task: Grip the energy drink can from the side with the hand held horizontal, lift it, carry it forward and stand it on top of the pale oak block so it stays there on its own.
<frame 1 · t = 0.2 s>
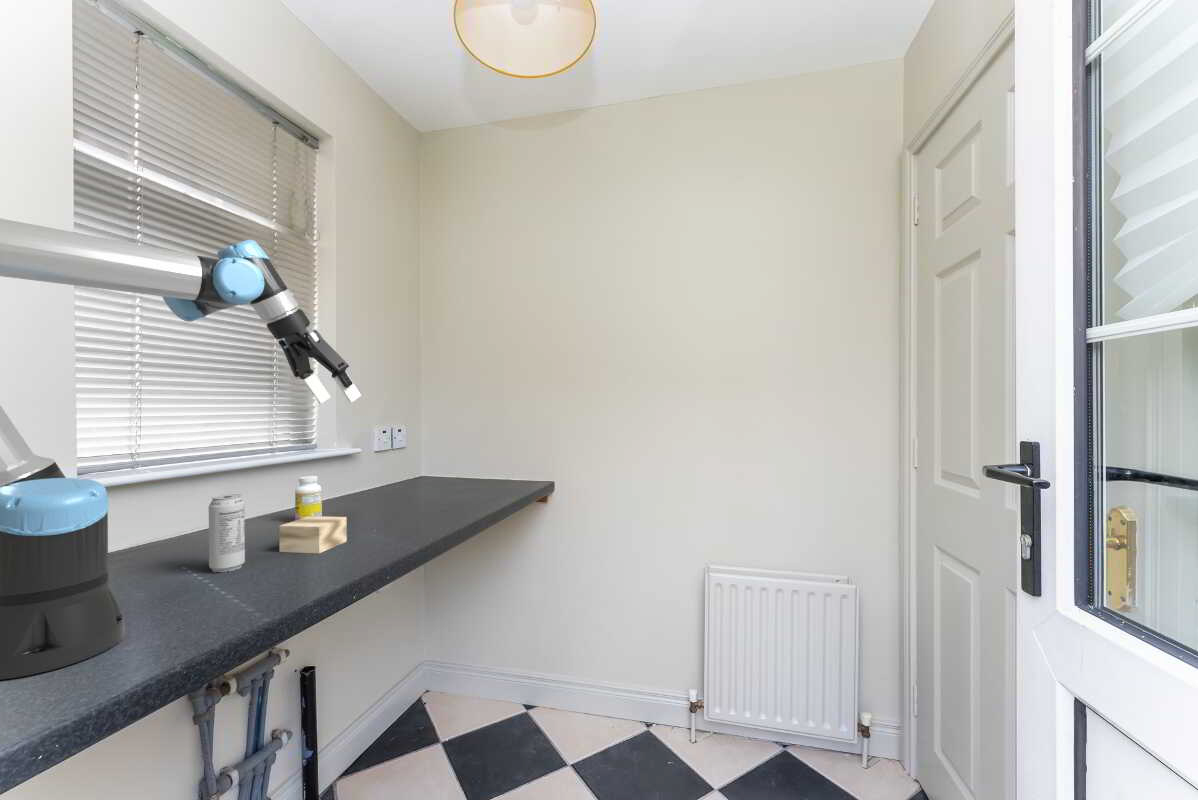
hand: (340, 399, 118), 35 cm above the worktop, tool tilted 35°, fingers open, 13 cm apart
supplement bottle: (308, 522, 149), on the worktop
oak block: (314, 546, 123), on the worktop
energy drink can: (227, 569, 108), on the worktop
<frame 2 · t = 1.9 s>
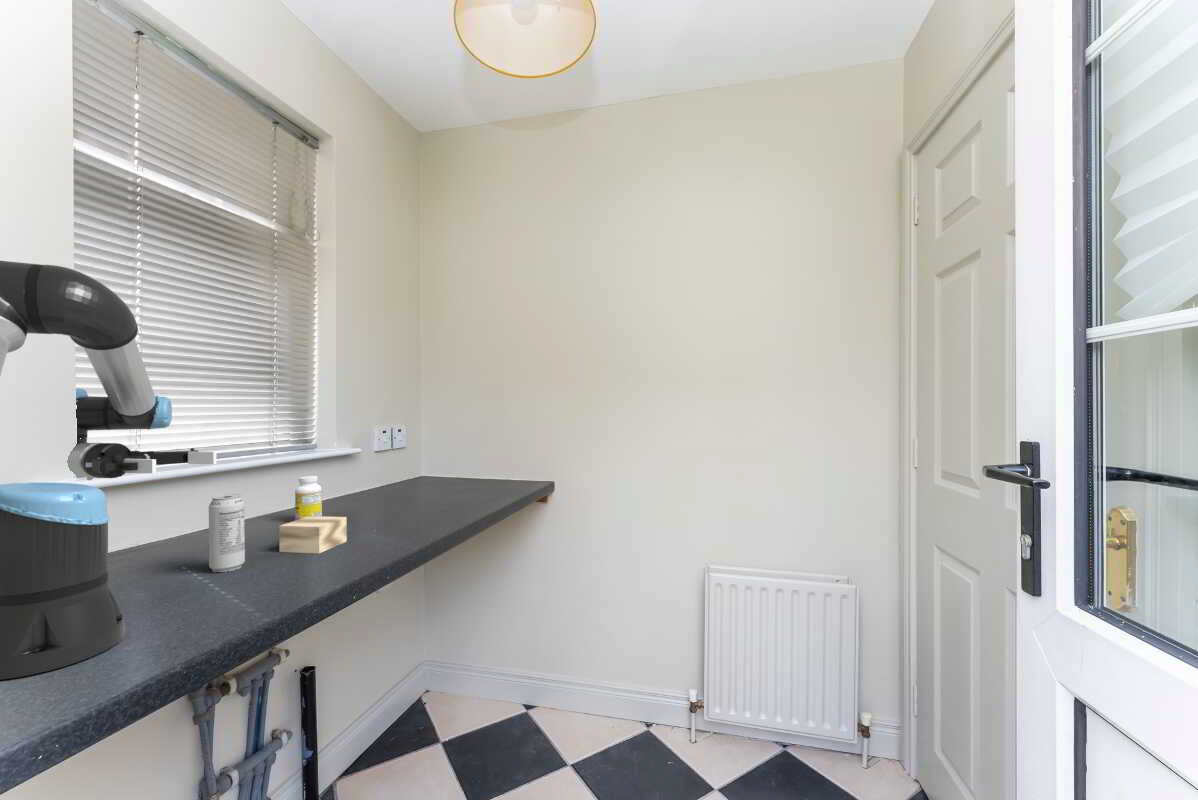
hand: (186, 461, 109), 22 cm above the worktop, tool horizontal, fingers open, 13 cm apart
nothing on the worktop moved.
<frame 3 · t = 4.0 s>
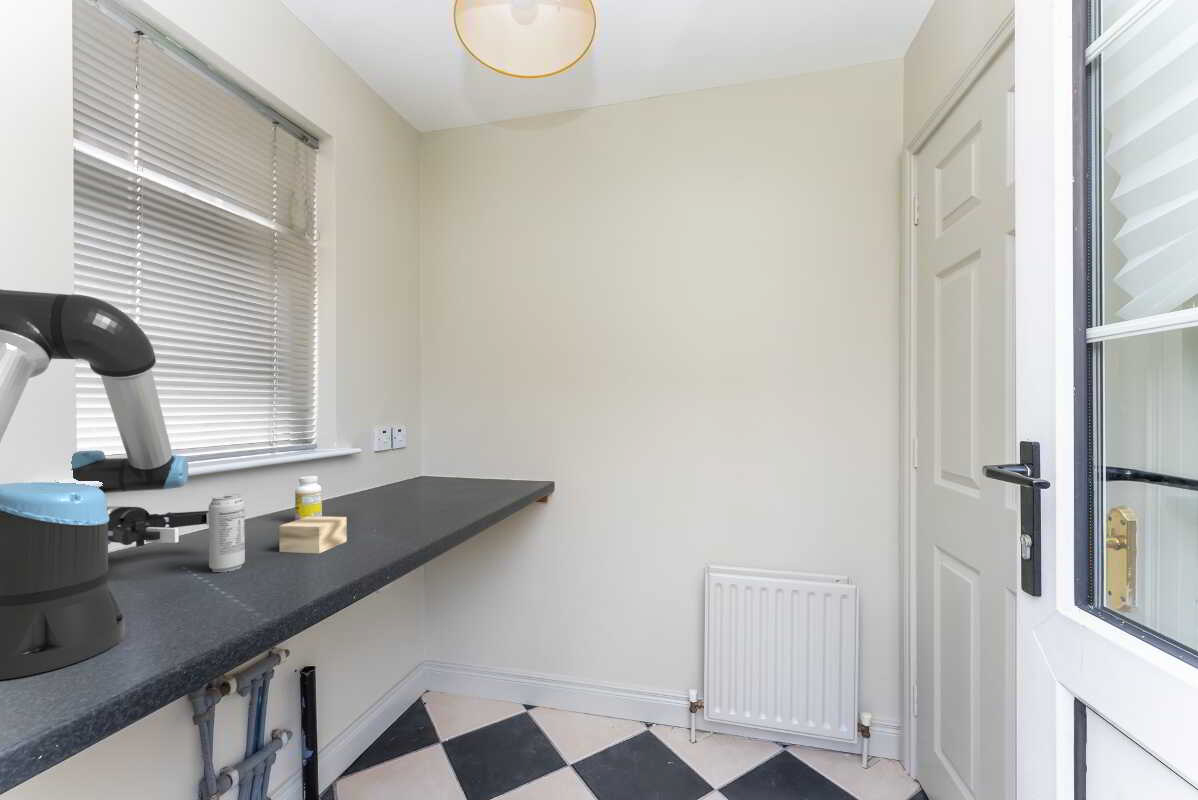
hand: (207, 526, 109), 8 cm above the worktop, tool horizontal, fingers open, 13 cm apart
nothing on the worktop moved.
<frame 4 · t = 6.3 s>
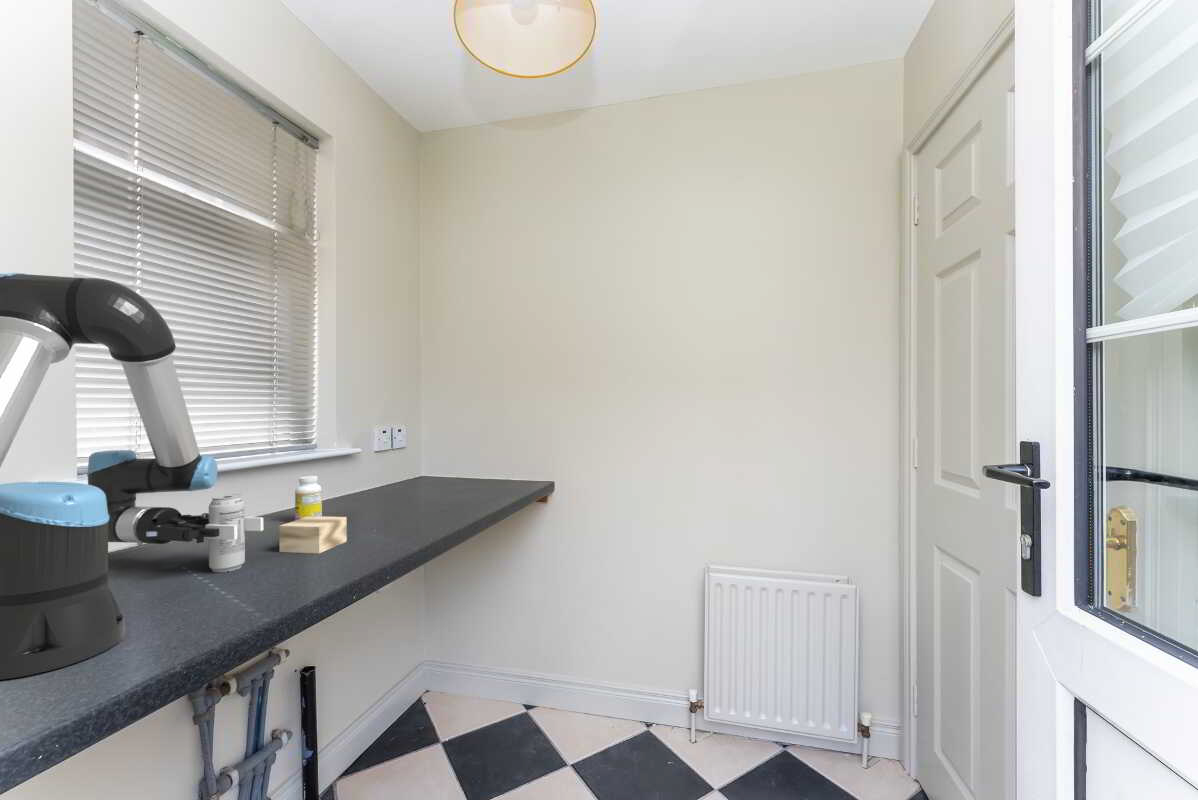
hand: (249, 528, 107), 9 cm above the worktop, tool horizontal, fingers closed on energy drink can, 6 cm apart
energy drink can: (227, 569, 108), on the worktop, touching gripper
everything else where it was.
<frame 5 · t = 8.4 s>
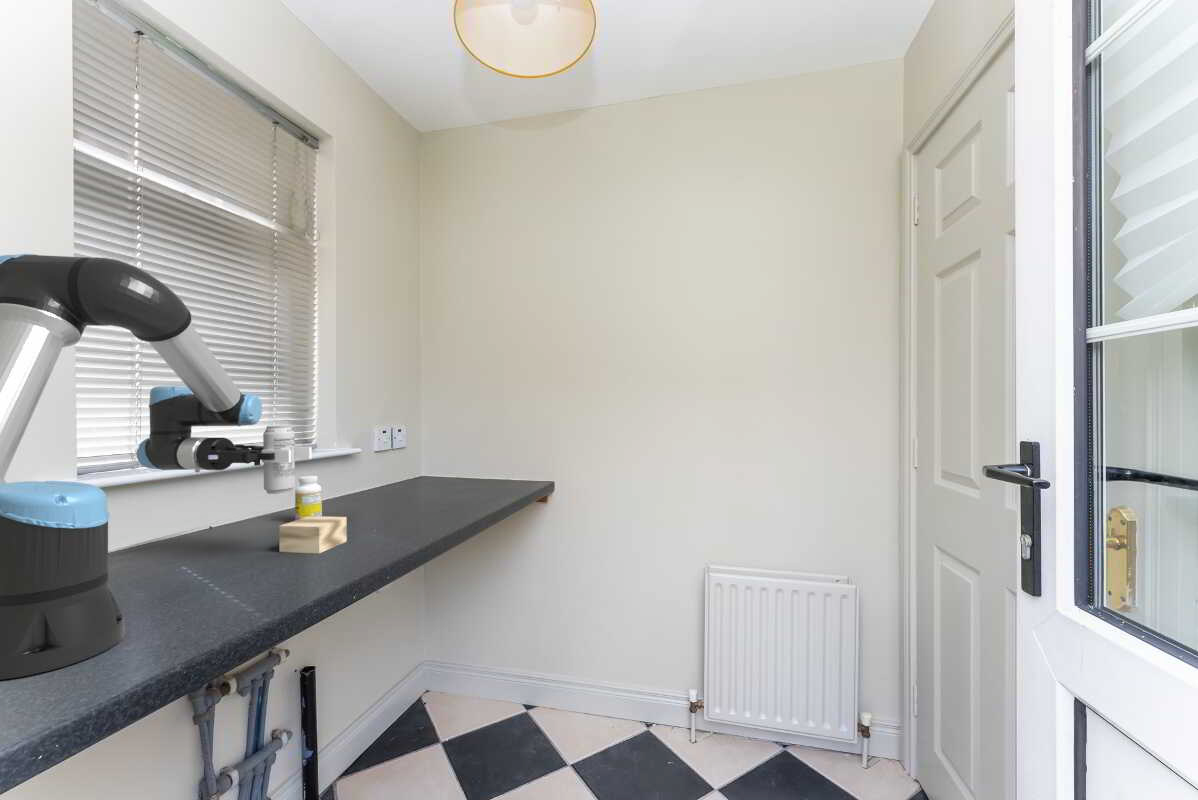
hand: (300, 454, 117), 23 cm above the worktop, tool horizontal, fingers closed on energy drink can, 6 cm apart
energy drink can: (279, 492, 118), point 14 cm above the worktop, touching gripper
everything else where it was.
when the fingers open (15 cm above the worktop, at t = 10.4 s): energy drink can stays where it is, resting on oak block.
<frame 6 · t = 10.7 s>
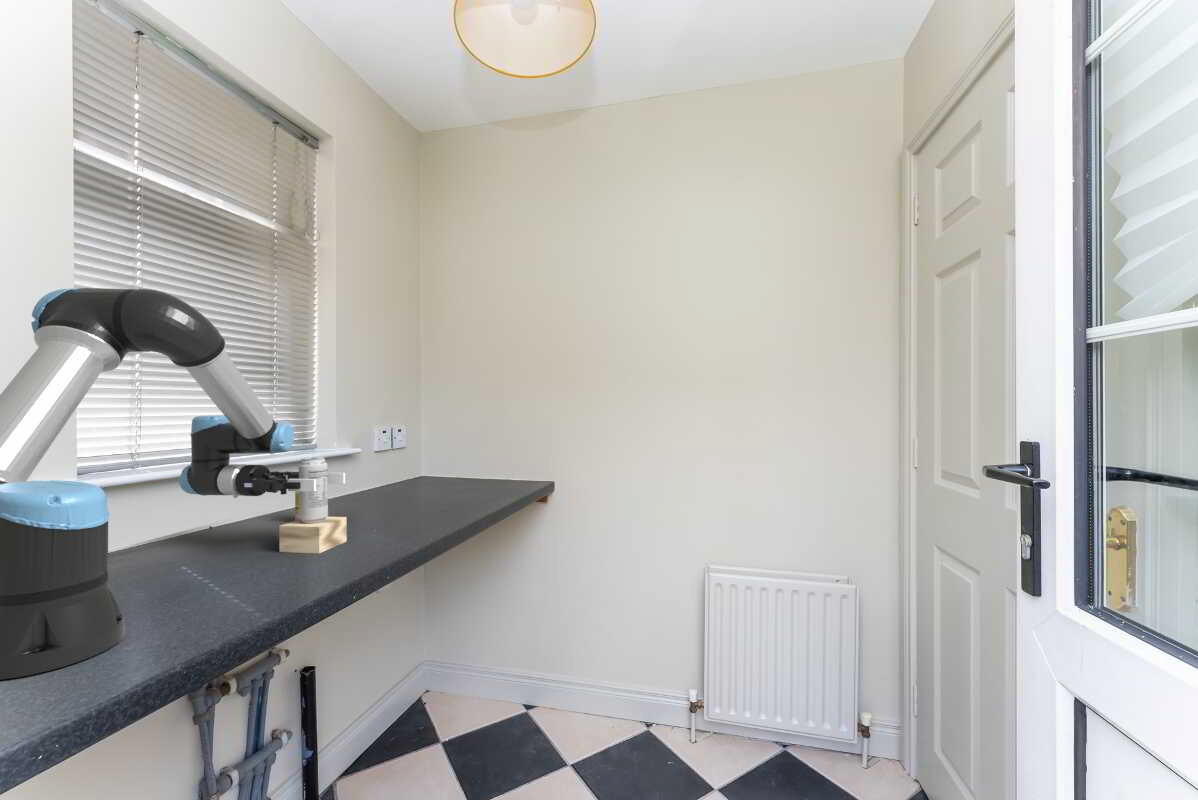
hand: (330, 481, 123), 15 cm above the worktop, tool horizontal, fingers open, 10 cm apart
energy drink can: (313, 521, 123), point 6 cm above the worktop, touching oak block
everything else where it was.
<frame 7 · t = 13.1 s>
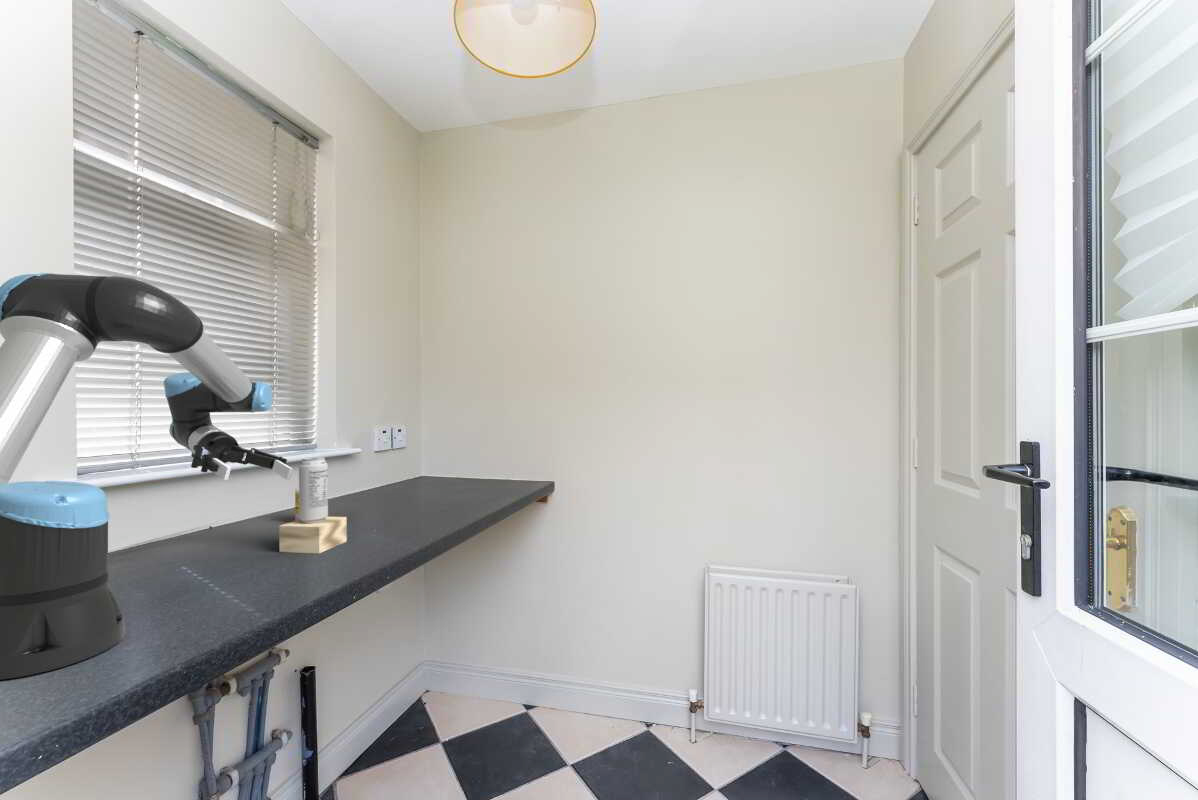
hand: (260, 474, 117), 18 cm above the worktop, tool tilted 75°, fingers open, 13 cm apart
nothing on the worktop moved.
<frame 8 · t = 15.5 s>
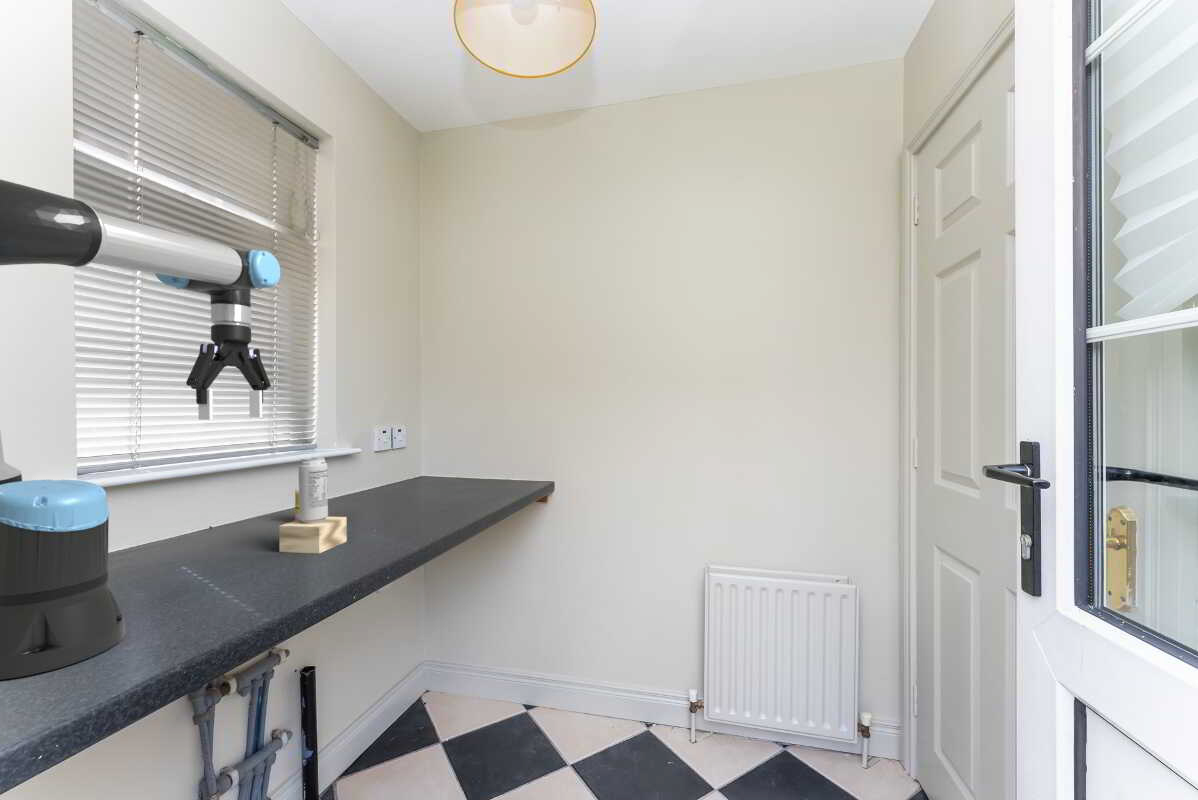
hand: (232, 418, 118), 31 cm above the worktop, tool pointing down, fingers open, 13 cm apart
nothing on the worktop moved.
at the end: energy drink can inside the target area on the oak block (0.0 cm from its centre), point 5.8 cm above the oak block's base; energy drink can tilted 0°; the gripper is holding nothing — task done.
